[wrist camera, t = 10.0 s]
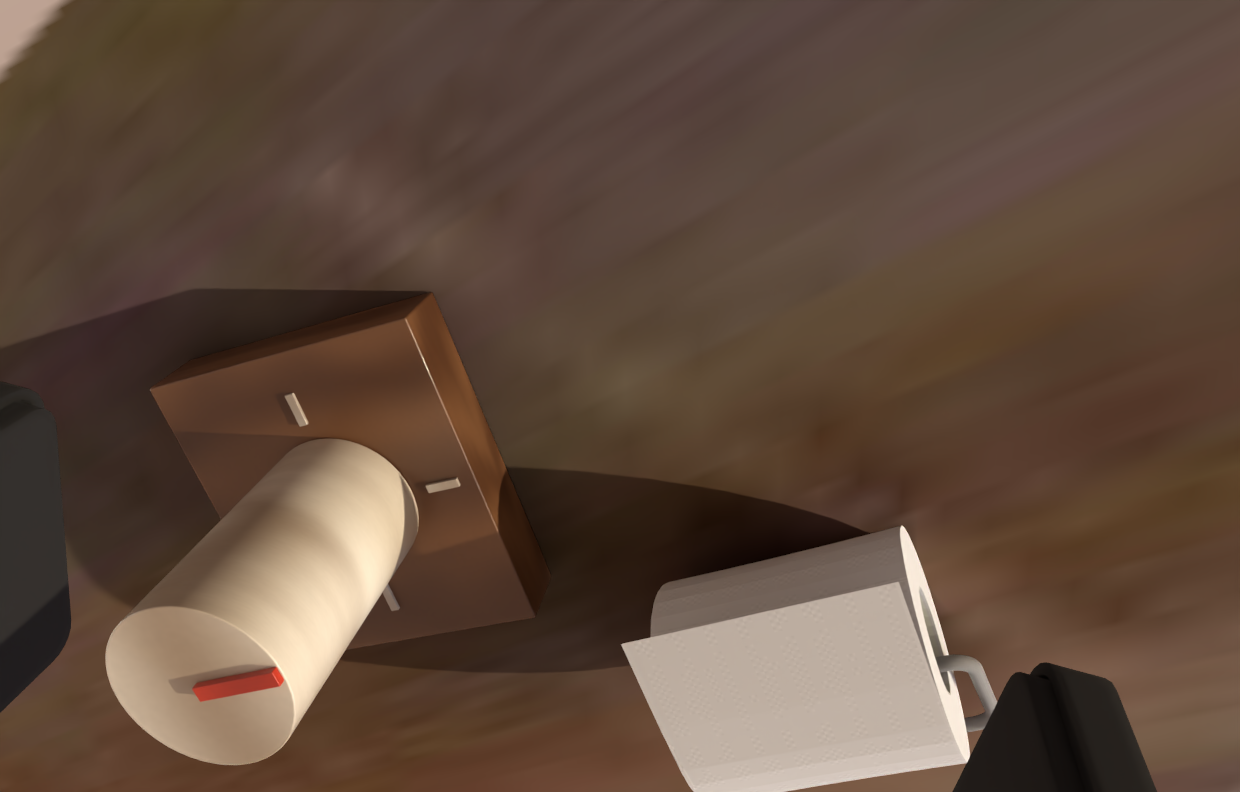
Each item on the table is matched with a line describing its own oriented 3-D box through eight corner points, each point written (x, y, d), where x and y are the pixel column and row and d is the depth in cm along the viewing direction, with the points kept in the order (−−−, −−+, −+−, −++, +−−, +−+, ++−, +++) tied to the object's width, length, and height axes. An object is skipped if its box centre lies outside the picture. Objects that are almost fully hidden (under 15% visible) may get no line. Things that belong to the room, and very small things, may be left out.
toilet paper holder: (939, 576, 31) (1052, 905, 36) (913, 444, 39) (1009, 730, 44) (587, 655, 35) (734, 942, 40) (628, 521, 42) (747, 775, 48)
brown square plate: (189, 359, 43) (145, 390, 40) (432, 291, 39) (403, 319, 37) (325, 617, 48) (295, 661, 45) (552, 576, 44) (534, 620, 42)
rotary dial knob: (315, 583, 43) (165, 784, 33) (245, 458, 41) (61, 633, 31) (443, 554, 41) (325, 758, 31) (377, 421, 39) (226, 594, 29)
